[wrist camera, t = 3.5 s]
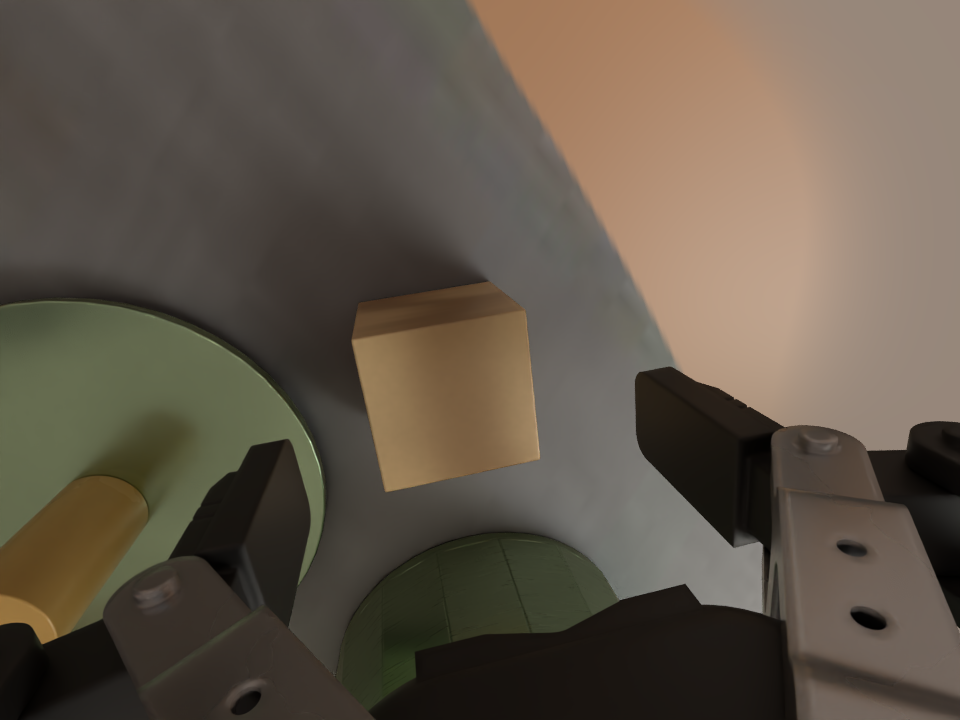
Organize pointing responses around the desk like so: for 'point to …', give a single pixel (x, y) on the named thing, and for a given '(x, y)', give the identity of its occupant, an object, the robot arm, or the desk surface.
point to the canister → (465, 604)
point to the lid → (119, 448)
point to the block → (446, 383)
